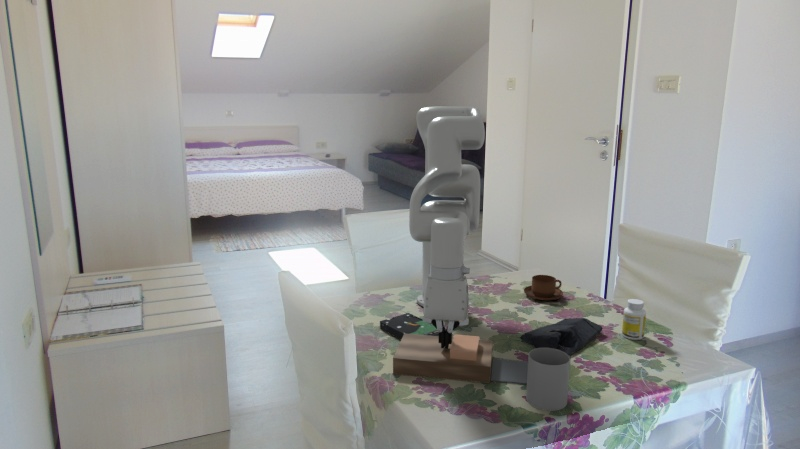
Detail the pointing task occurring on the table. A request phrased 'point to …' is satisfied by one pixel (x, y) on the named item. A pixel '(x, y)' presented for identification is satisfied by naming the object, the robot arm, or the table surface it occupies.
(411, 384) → the table surface
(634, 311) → the supplement bottle
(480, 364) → the board
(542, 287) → the cup and saucer
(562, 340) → the dark slate chunk
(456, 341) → the tile
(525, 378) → the mat
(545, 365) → the cup
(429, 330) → the disk drive
